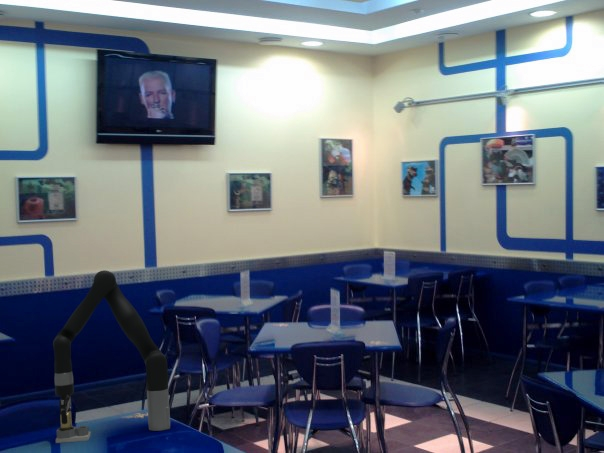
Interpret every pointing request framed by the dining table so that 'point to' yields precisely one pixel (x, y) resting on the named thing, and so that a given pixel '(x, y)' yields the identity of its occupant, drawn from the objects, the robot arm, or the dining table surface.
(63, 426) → the brass cylinder
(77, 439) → the grey mounting plate
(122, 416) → the dining table surface
